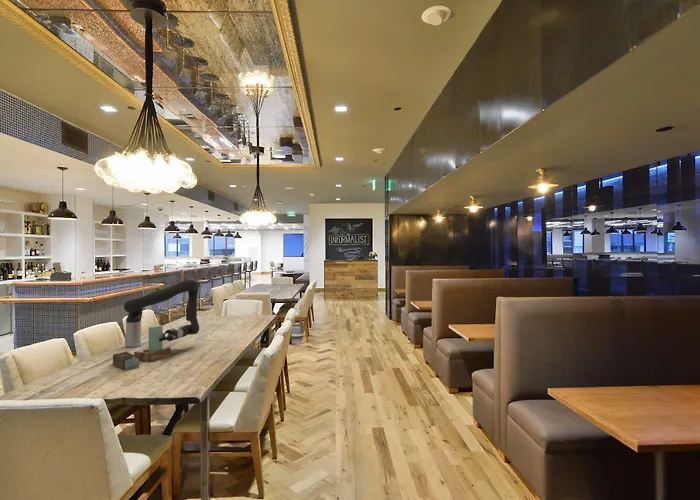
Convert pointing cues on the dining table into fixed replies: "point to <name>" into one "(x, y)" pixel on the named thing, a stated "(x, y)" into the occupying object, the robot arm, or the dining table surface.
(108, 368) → the dining table surface
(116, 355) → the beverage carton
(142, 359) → the frame
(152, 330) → the tall teal pillar
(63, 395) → the dining table surface
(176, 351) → the pad
